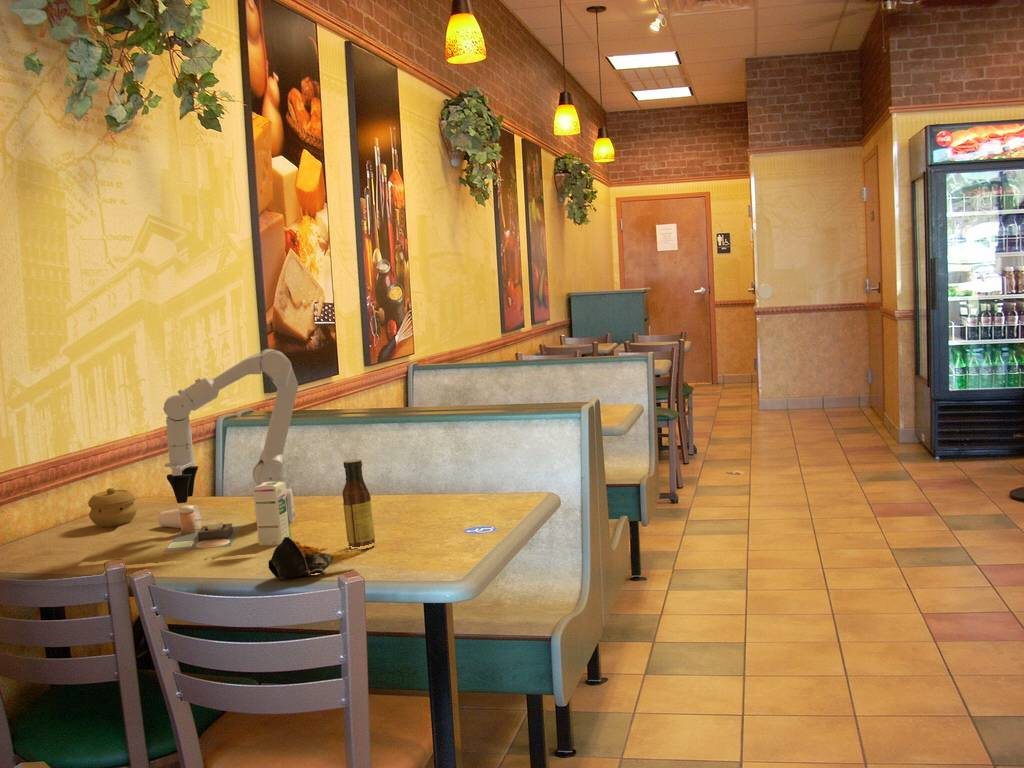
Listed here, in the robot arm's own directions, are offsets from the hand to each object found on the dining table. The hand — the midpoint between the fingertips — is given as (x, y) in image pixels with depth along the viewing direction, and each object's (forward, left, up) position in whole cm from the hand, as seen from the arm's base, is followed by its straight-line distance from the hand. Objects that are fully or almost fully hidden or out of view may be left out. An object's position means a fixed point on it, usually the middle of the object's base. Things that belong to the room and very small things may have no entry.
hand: (185, 499), depth 260 cm
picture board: (-5, +7, -9) cm, 13 cm away
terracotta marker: (0, 0, -8) cm, 8 cm away
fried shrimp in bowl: (-34, +45, -9) cm, 57 cm away
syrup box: (-23, +17, -9) cm, 30 cm away
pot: (+22, -20, -9) cm, 32 cm away
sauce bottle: (-43, +26, -9) cm, 51 cm away
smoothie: (+8, -10, -6) cm, 15 cm away
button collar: (-8, +6, -9) cm, 13 cm away
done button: (-8, +6, -7) cm, 12 cm away
